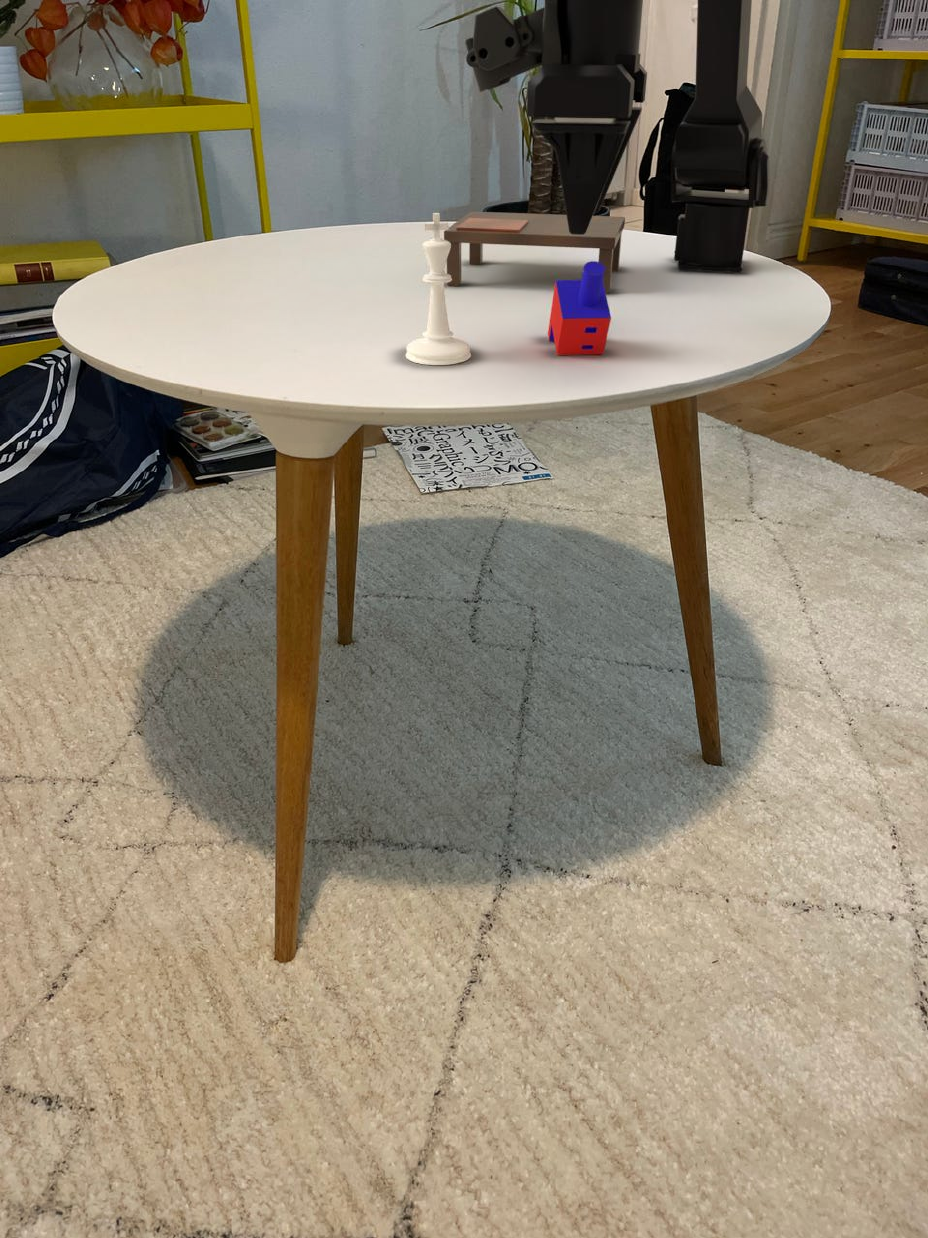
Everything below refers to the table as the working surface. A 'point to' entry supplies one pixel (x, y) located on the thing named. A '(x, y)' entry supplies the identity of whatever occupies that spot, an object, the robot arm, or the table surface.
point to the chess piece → (437, 308)
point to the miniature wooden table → (532, 237)
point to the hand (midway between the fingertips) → (584, 222)
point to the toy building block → (580, 313)
